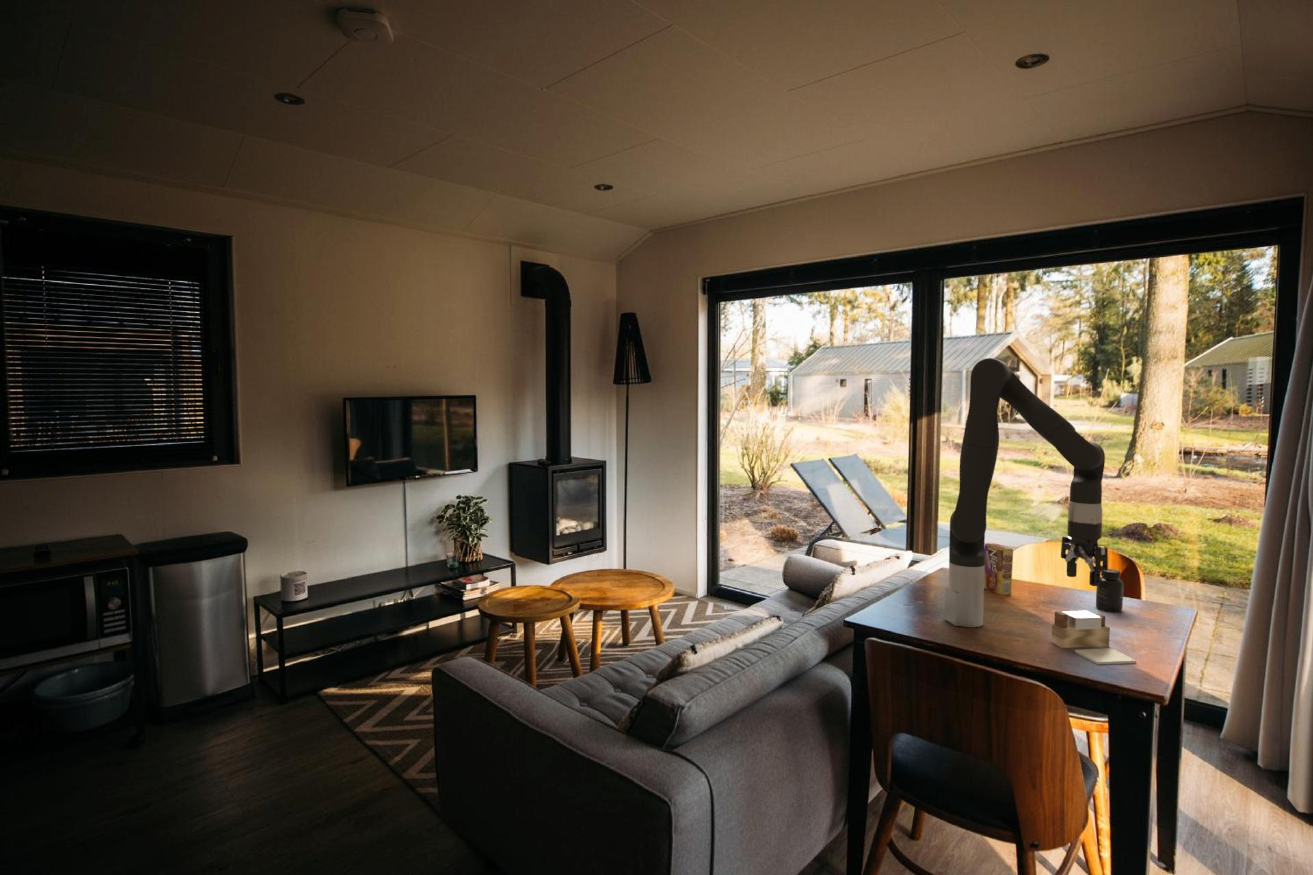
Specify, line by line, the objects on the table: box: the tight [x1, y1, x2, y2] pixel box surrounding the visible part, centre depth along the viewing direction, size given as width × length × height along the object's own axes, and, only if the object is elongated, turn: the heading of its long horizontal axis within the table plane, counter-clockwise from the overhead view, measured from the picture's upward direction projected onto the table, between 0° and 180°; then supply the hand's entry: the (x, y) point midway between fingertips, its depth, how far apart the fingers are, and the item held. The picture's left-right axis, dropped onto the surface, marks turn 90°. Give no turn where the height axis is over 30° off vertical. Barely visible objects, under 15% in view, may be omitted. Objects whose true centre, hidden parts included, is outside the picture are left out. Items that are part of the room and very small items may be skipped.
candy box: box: [984, 542, 1014, 596], centre depth 229 cm, size 9×4×15 cm, turn 13°
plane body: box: [1051, 610, 1111, 649], centre depth 181 cm, size 13×4×8 cm, turn 95°
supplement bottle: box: [1095, 568, 1124, 613], centre depth 210 cm, size 7×7×12 cm
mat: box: [1074, 648, 1137, 665], centre depth 172 cm, size 10×8×1 cm
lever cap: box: [1061, 610, 1101, 630], centre depth 181 cm, size 7×6×3 cm
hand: (1082, 580), depth 180 cm, fingers open, 8 cm apart
